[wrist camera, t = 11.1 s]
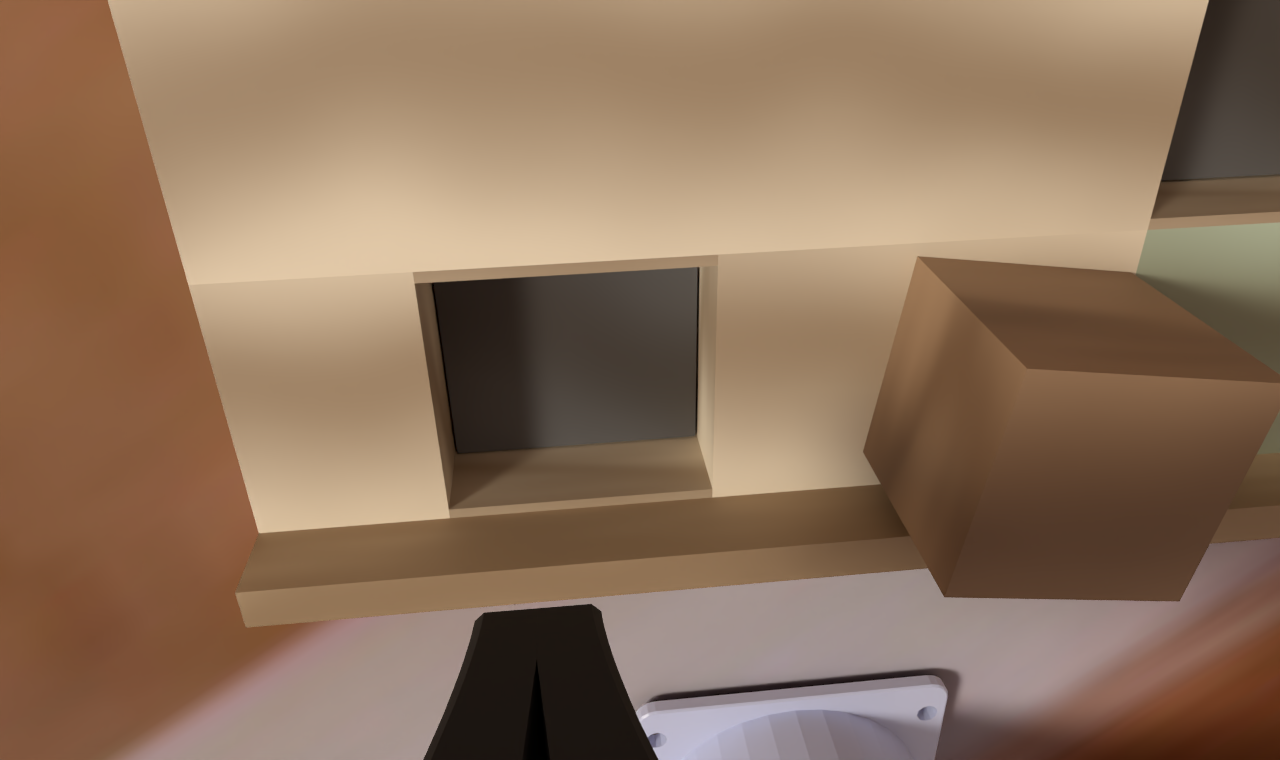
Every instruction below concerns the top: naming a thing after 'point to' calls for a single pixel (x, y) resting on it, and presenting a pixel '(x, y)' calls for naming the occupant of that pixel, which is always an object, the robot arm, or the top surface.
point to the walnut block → (1062, 431)
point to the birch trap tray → (657, 260)
